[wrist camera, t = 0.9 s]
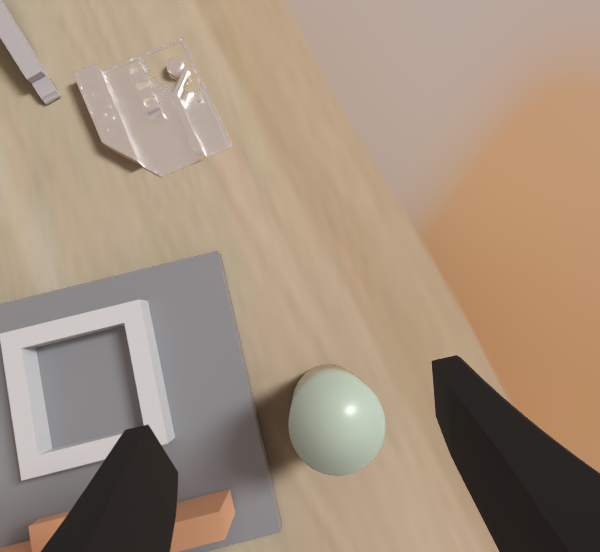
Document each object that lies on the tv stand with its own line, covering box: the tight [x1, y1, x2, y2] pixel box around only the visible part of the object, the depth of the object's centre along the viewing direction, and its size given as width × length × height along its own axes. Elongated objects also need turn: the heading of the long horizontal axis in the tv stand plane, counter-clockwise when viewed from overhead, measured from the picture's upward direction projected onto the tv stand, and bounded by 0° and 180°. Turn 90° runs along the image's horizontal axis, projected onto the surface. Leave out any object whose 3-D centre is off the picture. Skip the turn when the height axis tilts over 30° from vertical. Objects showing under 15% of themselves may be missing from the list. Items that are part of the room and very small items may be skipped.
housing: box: [0, 251, 282, 552], centre depth 22 cm, size 15×16×2 cm
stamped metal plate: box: [73, 38, 232, 177], centre depth 26 cm, size 8×7×2 cm
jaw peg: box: [288, 365, 385, 476], centre depth 21 cm, size 4×4×6 cm
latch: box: [0, 489, 235, 552], centre depth 20 cm, size 2×12×3 cm, turn 104°
